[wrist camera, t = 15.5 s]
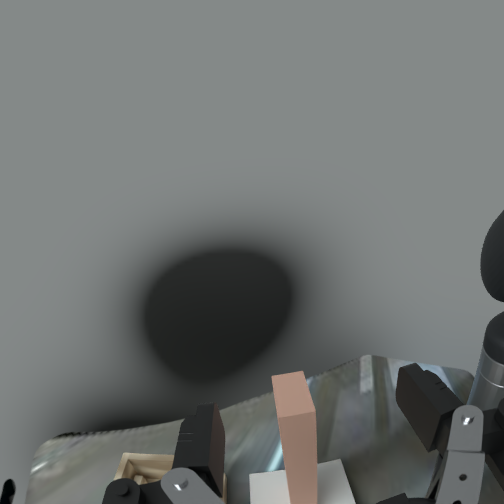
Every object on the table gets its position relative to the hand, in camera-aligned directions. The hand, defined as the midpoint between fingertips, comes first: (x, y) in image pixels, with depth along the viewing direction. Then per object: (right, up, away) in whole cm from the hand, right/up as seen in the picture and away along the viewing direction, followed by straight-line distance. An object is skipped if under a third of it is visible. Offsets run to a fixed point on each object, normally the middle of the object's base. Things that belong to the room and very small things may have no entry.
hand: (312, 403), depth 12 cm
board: (+4, -25, +17) cm, 31 cm away
